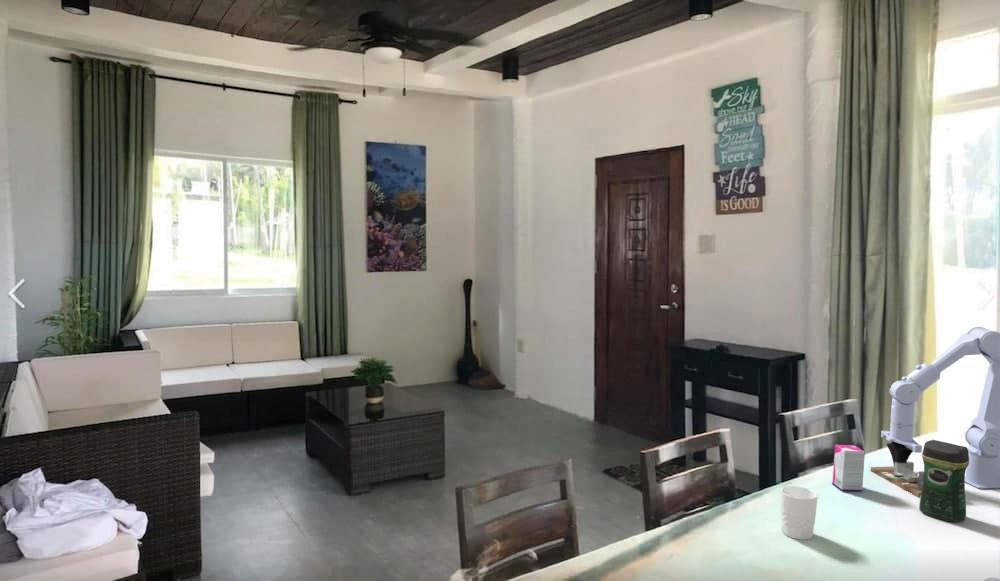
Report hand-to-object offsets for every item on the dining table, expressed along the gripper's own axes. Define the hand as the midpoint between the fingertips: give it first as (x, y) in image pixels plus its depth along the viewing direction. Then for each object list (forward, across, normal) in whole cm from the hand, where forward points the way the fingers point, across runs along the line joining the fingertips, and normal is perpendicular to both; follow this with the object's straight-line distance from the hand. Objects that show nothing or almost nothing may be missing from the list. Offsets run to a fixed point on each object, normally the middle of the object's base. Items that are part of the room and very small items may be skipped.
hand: (899, 468), depth 196 cm
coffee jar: (+3, +26, -7) cm, 27 cm away
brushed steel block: (+1, +5, -1) cm, 6 cm away
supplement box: (+3, +7, -20) cm, 21 cm away
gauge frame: (+2, +5, 0) cm, 5 cm away
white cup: (+3, +33, -49) cm, 59 cm away
